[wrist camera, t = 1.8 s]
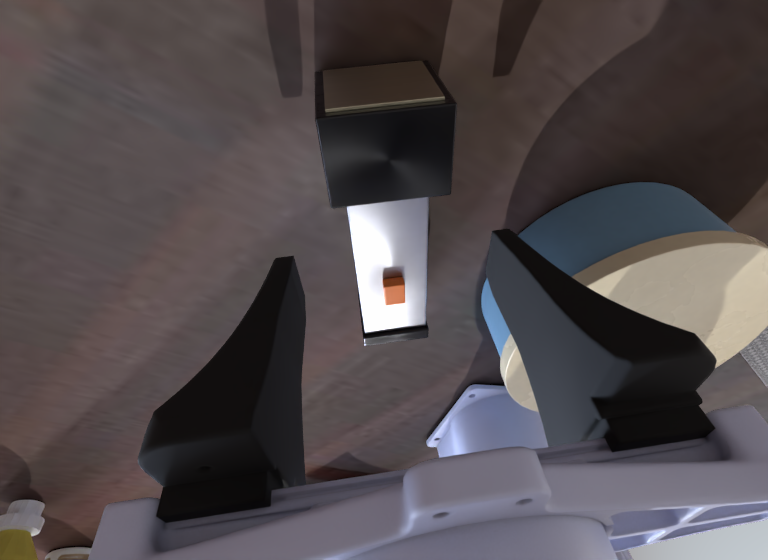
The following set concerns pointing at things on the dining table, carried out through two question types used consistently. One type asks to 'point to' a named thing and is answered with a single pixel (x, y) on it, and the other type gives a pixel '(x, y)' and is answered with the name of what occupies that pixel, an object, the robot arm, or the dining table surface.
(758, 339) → the architectural model
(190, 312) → the dining table surface
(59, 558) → the pill bottle
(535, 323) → the robot arm
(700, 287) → the tin
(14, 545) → the light bulb
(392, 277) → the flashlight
